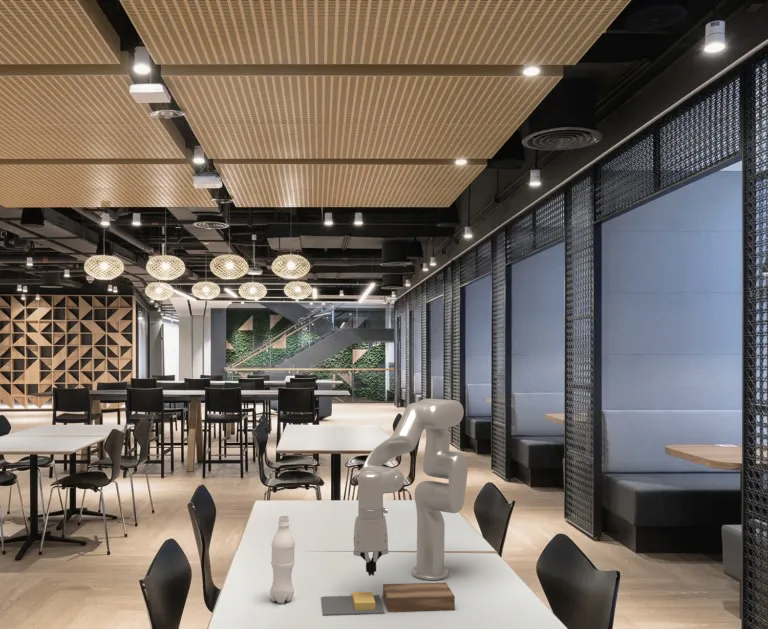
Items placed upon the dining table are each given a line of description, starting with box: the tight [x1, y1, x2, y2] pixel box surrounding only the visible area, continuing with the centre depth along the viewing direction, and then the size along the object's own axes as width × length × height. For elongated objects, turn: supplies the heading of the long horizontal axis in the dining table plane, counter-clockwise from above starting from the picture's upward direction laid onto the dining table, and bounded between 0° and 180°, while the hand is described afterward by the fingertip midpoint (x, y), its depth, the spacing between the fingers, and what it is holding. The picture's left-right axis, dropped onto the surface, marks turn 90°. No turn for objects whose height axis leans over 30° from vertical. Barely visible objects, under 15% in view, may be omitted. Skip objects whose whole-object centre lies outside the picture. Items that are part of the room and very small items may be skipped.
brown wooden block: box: [382, 582, 456, 613], centre depth 201 cm, size 12×20×4 cm, turn 97°
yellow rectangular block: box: [351, 591, 375, 610], centre depth 198 cm, size 9×6×2 cm, turn 8°
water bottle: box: [269, 515, 296, 604], centre depth 202 cm, size 7×7×25 cm
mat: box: [320, 594, 386, 617], centre depth 198 cm, size 14×18×1 cm
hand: (371, 573), depth 200 cm, fingers closed
